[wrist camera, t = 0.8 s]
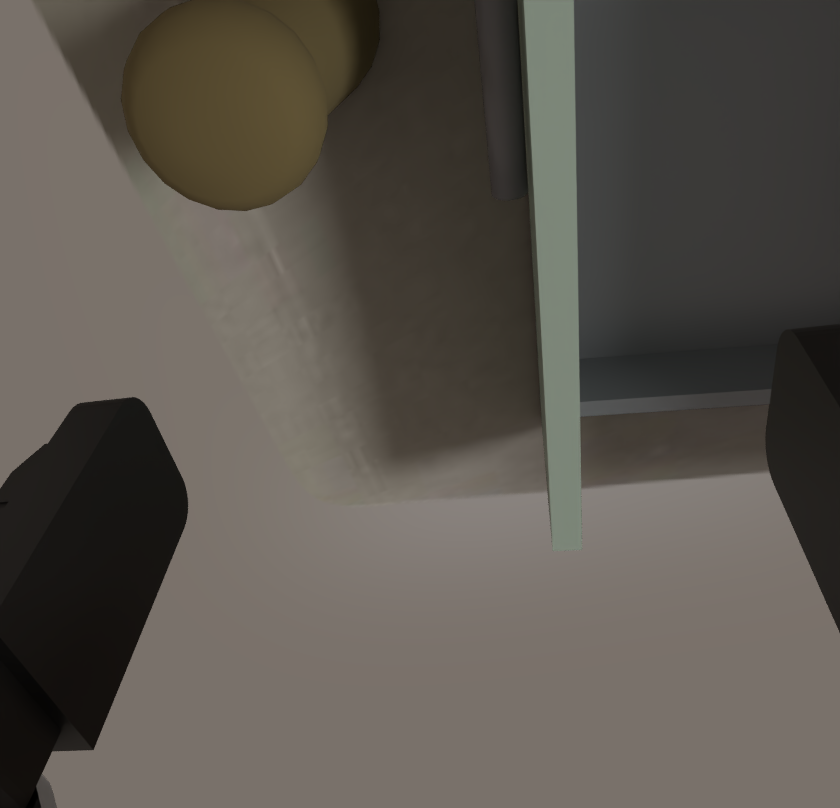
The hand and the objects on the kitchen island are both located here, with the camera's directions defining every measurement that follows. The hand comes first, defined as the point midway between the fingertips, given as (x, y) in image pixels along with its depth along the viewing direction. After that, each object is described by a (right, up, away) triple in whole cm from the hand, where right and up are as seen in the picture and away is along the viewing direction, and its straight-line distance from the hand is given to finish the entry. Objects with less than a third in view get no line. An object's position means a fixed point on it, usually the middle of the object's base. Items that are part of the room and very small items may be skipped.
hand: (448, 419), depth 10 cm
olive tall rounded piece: (-5, +14, +17) cm, 23 cm away
